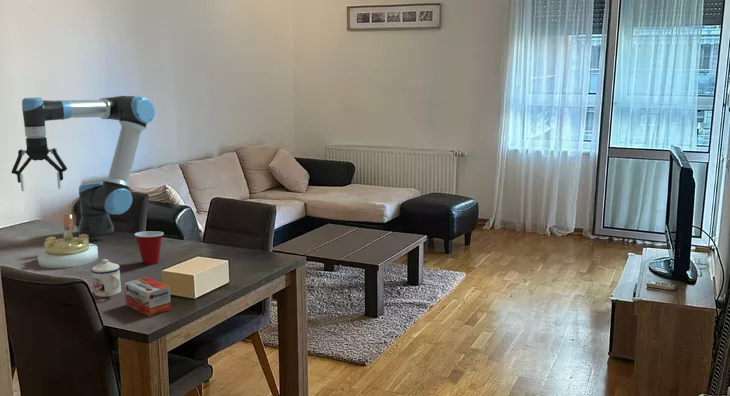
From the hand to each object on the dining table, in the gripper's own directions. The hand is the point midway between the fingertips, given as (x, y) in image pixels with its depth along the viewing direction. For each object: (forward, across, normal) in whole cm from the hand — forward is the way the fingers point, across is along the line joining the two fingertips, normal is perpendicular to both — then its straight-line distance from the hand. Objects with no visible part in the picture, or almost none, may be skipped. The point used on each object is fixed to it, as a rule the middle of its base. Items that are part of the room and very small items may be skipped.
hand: (41, 189), depth 282 cm
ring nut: (+22, +9, -10) cm, 26 cm away
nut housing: (+27, +9, -13) cm, 31 cm away
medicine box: (+27, +41, -79) cm, 93 cm away
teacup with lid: (+27, +28, -61) cm, 73 cm away
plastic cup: (+27, +41, -27) cm, 56 cm away
